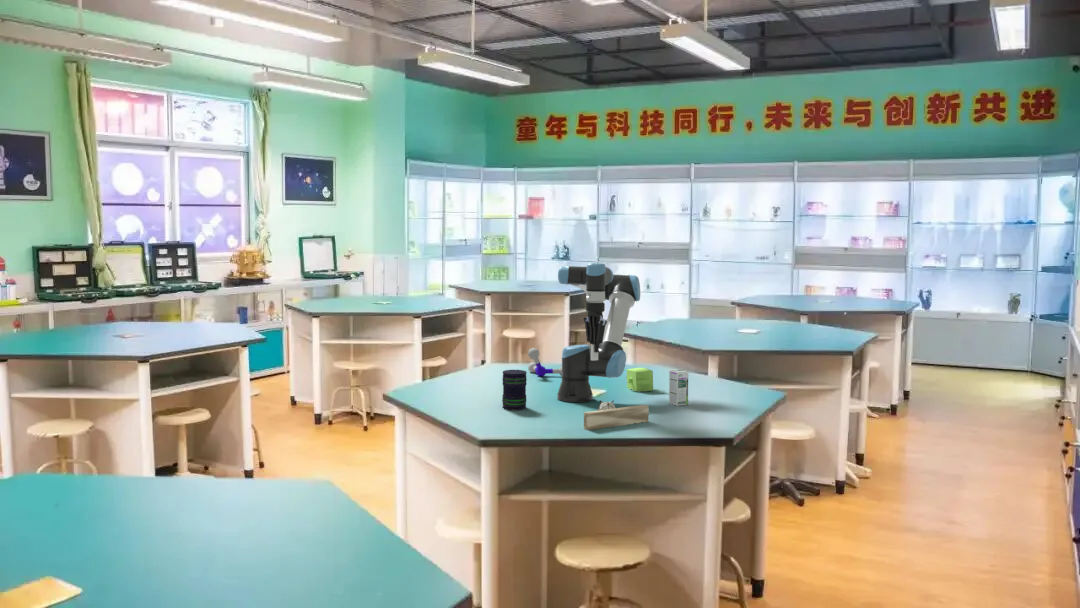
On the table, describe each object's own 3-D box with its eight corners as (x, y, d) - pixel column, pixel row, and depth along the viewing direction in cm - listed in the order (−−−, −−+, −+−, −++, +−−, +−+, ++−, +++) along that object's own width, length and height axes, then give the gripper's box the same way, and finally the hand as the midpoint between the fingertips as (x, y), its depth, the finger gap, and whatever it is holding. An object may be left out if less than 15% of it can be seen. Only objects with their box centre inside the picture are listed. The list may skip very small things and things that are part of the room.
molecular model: (570, 379, 422) (570, 349, 420) (527, 379, 422) (528, 348, 420) (568, 372, 443) (569, 343, 442) (528, 371, 443) (528, 342, 442)
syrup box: (676, 406, 361) (677, 371, 360) (668, 403, 367) (669, 369, 365) (688, 405, 364) (689, 370, 363) (679, 402, 369) (680, 368, 368)
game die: (609, 432, 330) (612, 415, 323) (590, 422, 333) (592, 404, 326) (621, 417, 336) (624, 400, 329) (602, 407, 339) (604, 390, 332)
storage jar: (518, 411, 347) (518, 374, 346) (497, 408, 352) (497, 372, 351) (530, 407, 356) (531, 371, 355) (510, 404, 361) (510, 368, 359)
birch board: (583, 428, 320) (583, 412, 319) (643, 420, 334) (643, 404, 334) (588, 430, 317) (588, 413, 316) (648, 421, 332) (648, 406, 331)
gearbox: (619, 387, 405) (619, 367, 404) (639, 385, 408) (638, 365, 407) (635, 394, 388) (635, 373, 387) (656, 391, 391) (655, 371, 390)
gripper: (578, 300, 351) (577, 358, 354) (597, 303, 340) (596, 363, 343) (593, 300, 355) (592, 357, 358) (612, 302, 344) (611, 361, 347)
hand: (594, 360), depth 350 cm, fingers closed
